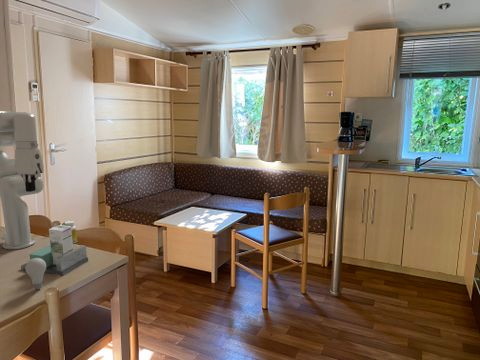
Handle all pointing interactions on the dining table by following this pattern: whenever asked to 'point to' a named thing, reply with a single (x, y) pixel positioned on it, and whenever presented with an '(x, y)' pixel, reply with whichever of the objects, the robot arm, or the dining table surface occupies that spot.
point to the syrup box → (60, 241)
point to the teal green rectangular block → (43, 255)
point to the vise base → (54, 268)
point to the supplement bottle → (73, 229)
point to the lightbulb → (36, 271)
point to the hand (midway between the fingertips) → (30, 190)
